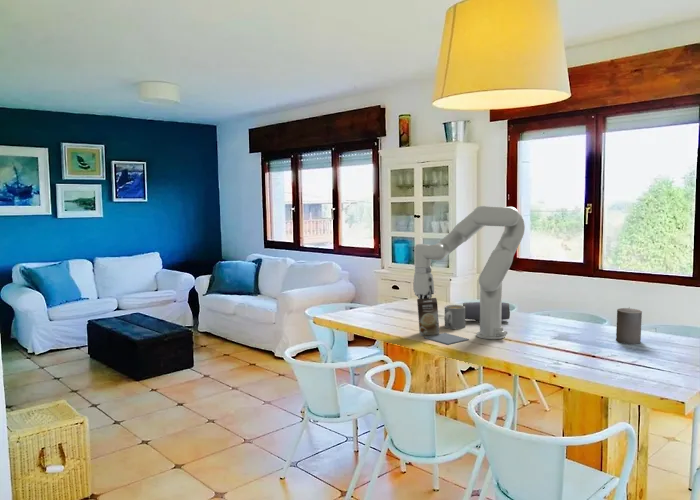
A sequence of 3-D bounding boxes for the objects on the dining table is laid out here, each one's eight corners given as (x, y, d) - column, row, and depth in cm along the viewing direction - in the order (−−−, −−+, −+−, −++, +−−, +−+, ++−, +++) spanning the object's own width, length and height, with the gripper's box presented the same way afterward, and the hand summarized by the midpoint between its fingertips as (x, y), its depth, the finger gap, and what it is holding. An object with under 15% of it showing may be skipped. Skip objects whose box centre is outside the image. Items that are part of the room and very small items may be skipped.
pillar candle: (610, 339, 243) (611, 306, 242) (627, 337, 247) (628, 304, 245) (629, 345, 234) (630, 310, 233) (646, 342, 237) (647, 308, 236)
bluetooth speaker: (506, 319, 288) (506, 300, 288) (510, 323, 279) (510, 303, 278) (462, 319, 291) (462, 300, 290) (464, 323, 282) (464, 303, 281)
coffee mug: (454, 323, 281) (454, 304, 280) (469, 326, 273) (469, 306, 272) (435, 327, 273) (435, 307, 272) (450, 331, 265) (450, 310, 264)
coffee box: (419, 336, 256) (416, 303, 252) (419, 330, 262) (416, 298, 258) (440, 334, 255) (437, 301, 251) (438, 329, 261) (436, 297, 257)
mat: (468, 340, 247) (468, 338, 247) (448, 344, 240) (448, 343, 240) (445, 333, 259) (445, 332, 259) (424, 338, 252) (424, 337, 252)
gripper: (439, 271, 256) (440, 310, 257) (418, 268, 268) (418, 305, 269) (427, 272, 251) (428, 312, 253) (406, 269, 264) (406, 307, 265)
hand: (423, 308), depth 261 cm, fingers closed
